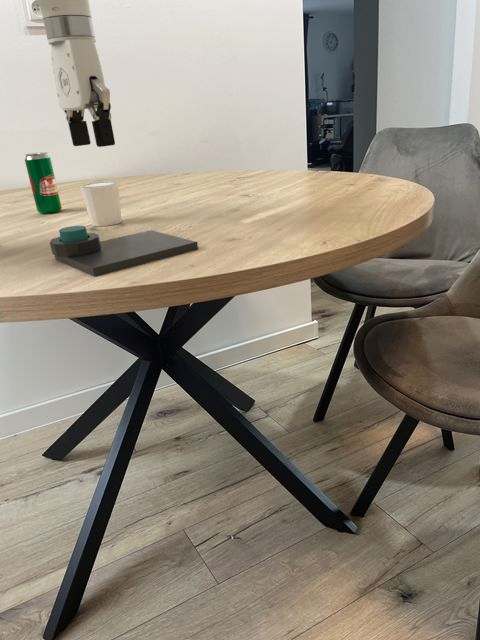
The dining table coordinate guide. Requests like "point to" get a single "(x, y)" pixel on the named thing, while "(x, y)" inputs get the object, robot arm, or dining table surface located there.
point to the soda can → (43, 182)
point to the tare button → (73, 233)
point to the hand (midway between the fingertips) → (93, 145)
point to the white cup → (102, 203)
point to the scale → (118, 251)
